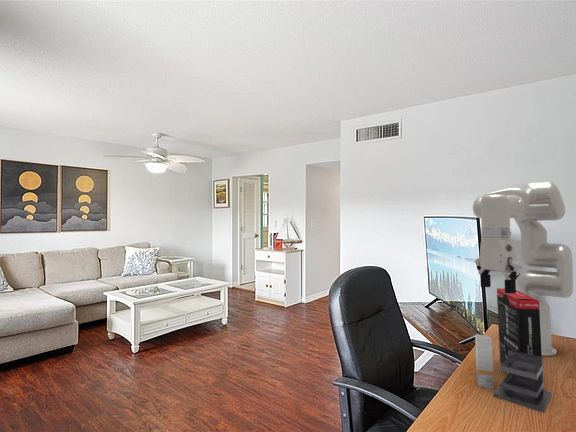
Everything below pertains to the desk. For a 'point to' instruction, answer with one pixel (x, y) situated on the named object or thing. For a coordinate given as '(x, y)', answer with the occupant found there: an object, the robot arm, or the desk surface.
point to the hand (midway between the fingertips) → (497, 289)
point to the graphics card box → (518, 324)
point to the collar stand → (524, 381)
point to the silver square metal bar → (484, 361)
